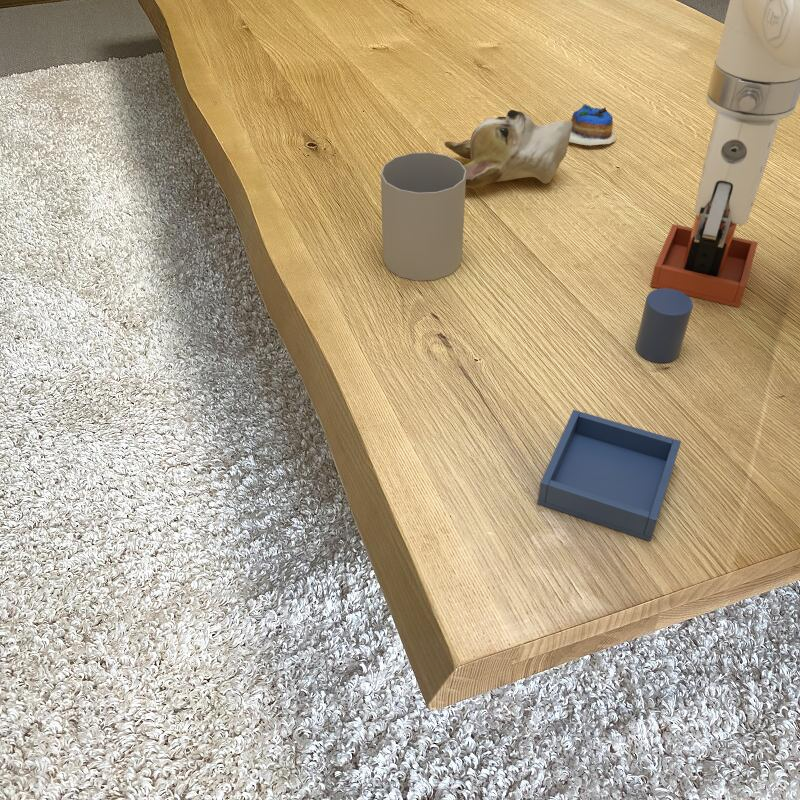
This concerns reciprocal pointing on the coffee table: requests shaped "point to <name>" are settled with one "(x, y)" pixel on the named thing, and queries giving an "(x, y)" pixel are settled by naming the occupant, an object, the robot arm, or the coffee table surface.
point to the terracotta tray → (699, 285)
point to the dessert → (592, 126)
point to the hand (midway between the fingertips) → (704, 261)
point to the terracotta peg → (729, 234)
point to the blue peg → (663, 325)
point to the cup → (423, 215)
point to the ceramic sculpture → (513, 149)
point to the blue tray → (609, 474)
